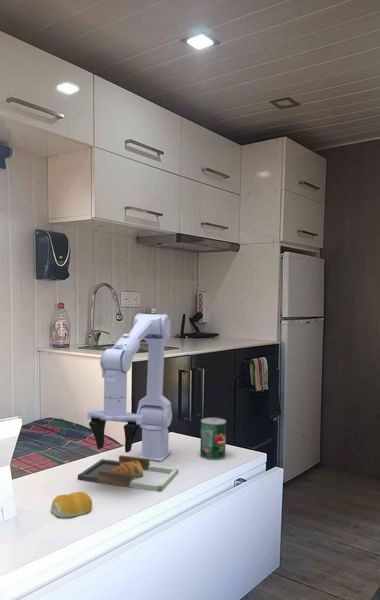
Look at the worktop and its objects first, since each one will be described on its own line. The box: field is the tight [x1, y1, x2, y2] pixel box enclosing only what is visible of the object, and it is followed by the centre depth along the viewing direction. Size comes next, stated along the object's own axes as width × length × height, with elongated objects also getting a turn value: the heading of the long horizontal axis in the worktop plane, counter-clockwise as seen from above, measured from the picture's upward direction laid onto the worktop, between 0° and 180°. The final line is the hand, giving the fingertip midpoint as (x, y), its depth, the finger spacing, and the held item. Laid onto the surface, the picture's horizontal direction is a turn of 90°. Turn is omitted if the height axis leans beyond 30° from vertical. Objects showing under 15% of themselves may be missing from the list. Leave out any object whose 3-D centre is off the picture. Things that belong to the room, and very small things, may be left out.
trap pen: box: [77, 458, 119, 484], centre depth 137 cm, size 14×6×1 cm, turn 163°
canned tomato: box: [199, 417, 227, 461], centre depth 154 cm, size 8×8×11 cm
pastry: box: [110, 461, 144, 480], centre depth 134 cm, size 9×7×4 cm
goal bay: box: [129, 464, 179, 492], centre depth 132 cm, size 14×8×1 cm, turn 163°
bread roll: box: [50, 491, 93, 519], centre depth 113 cm, size 8×9×4 cm
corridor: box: [97, 455, 151, 488], centre depth 135 cm, size 14×9×3 cm, turn 163°
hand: (114, 449), depth 125 cm, fingers open, 7 cm apart
